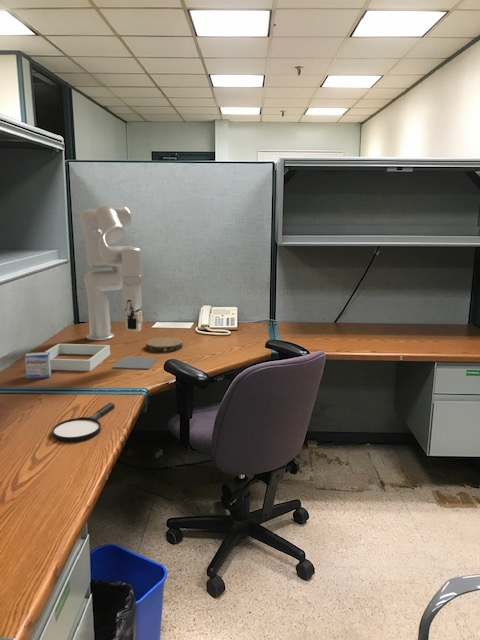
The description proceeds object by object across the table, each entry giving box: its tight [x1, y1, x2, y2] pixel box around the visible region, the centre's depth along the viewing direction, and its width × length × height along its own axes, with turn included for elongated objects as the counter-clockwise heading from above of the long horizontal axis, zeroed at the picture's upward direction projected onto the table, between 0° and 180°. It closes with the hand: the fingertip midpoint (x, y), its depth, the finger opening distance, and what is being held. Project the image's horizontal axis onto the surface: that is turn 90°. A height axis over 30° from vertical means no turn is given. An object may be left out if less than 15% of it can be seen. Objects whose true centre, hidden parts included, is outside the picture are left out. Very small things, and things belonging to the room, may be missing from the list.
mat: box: [111, 356, 158, 370], centre depth 193 cm, size 14×14×1 cm
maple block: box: [124, 310, 143, 332], centre depth 189 cm, size 5×5×7 cm
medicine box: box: [24, 351, 52, 380], centre depth 176 cm, size 8×4×9 cm, turn 105°
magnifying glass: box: [51, 402, 116, 443], centre depth 138 cm, size 12×24×2 cm, turn 163°
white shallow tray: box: [44, 343, 111, 372], centre depth 194 cm, size 22×22×4 cm
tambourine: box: [145, 336, 184, 354], centre depth 215 cm, size 16×16×3 cm
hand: (134, 326), depth 189 cm, fingers closed on maple block, 5 cm apart
